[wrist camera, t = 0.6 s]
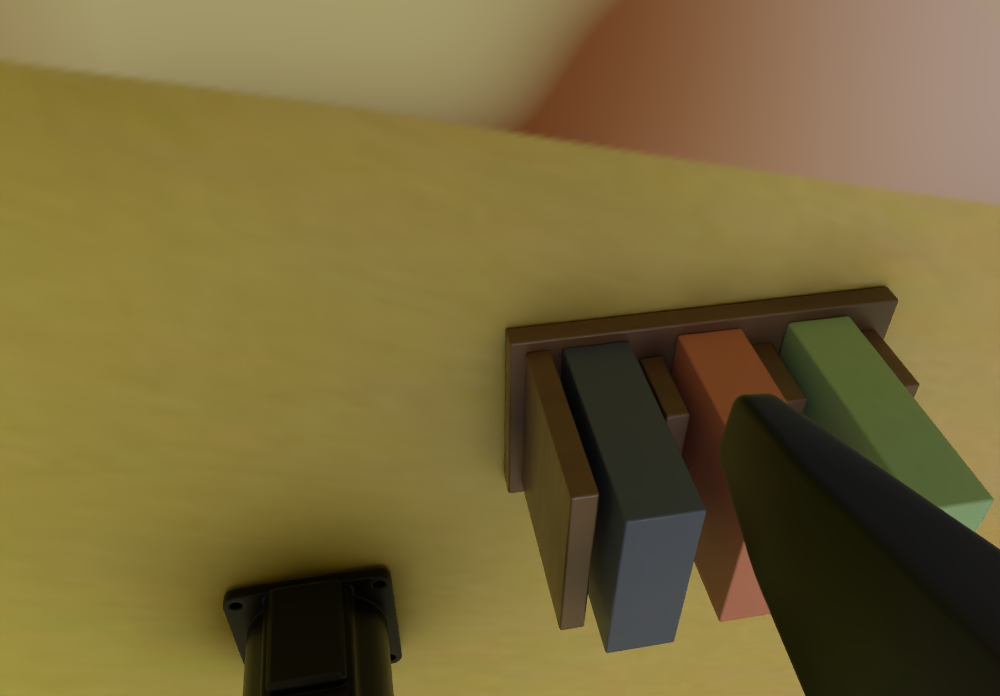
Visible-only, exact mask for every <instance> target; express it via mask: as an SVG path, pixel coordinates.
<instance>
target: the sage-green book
mask: <svg viewBox="0 0 1000 696" xmlns="http://www.w3.org/2000/svg"><path fill="white" fill-rule="evenodd" d="M779 356H780V358H781V360H782V361H783V363H784V364H785V366H786V367H787V369H788V370H789V372H790V373H791V375H792V376H793V378H794V379H795V381H796V382H797V384H798V386H799V387H800V389H801V390H802V392H803V393H804V395H805V396H806V398H807V401H806V404H805V407H804V411H803V415H805V416H806V417H808V418H809V419H811V420H812V421H813V422H815V423H816V424H818V425H819V426H821V427H822V428H824V429H825V430H827V431H828V432H829V433H831V434H832V435H834V436H835V437H837V438H838V439H840V440H841V441H843V442H844V443H846V444H847V445H848V446H850V447H851V448H853V449H854V450H856V451H857V452H859V453H860V454H862V455H863V456H864V457H866V458H867V459H869V460H870V461H872V462H873V463H875V464H876V465H878V466H879V467H881V468H882V469H883V470H885V471H886V472H888V473H889V474H891V475H892V476H894V477H895V478H897V479H898V480H899V481H901V482H902V483H904V484H905V485H907V486H908V487H910V488H911V489H913V490H914V491H916V492H917V493H918V494H920V495H921V496H923V497H924V498H926V499H927V500H929V501H930V502H932V503H933V504H934V505H936V506H937V507H939V508H940V509H942V510H943V511H945V512H946V513H948V514H949V515H950V516H952V517H953V518H955V519H956V520H958V521H959V522H961V523H962V524H964V525H965V526H967V527H968V528H969V529H971V530H972V531H974V532H976V531H977V529H978V527H979V525H980V524H981V522H982V520H983V519H984V517H985V515H986V513H987V512H988V510H989V508H990V507H991V505H992V503H993V501H994V500H993V497H992V496H991V495H990V494H989V492H988V491H987V490H986V489H985V487H984V486H983V485H982V484H981V482H980V481H979V480H978V479H977V477H976V476H975V475H974V473H973V472H972V471H971V470H970V468H969V467H968V466H967V465H966V463H965V462H964V461H963V460H962V458H961V457H960V456H959V455H958V453H957V452H956V451H955V449H954V448H953V447H952V446H951V444H950V443H949V442H948V441H947V439H946V438H945V437H944V436H943V434H942V433H941V432H940V431H939V429H938V428H937V427H936V425H935V424H934V423H933V422H932V420H931V419H930V418H929V417H928V415H927V414H926V413H925V412H924V410H923V409H922V408H921V407H920V405H919V404H918V403H917V402H916V400H915V399H914V398H913V396H912V395H911V394H910V393H909V391H908V390H907V389H906V388H905V386H904V385H903V384H902V383H901V381H900V380H899V379H898V378H897V376H896V375H895V374H894V372H893V371H892V370H891V369H890V367H889V366H888V365H887V364H886V362H885V361H884V360H883V359H882V357H881V356H880V355H879V354H878V352H877V351H876V350H875V348H874V347H873V346H872V345H871V343H870V342H869V341H868V340H867V338H866V337H865V336H864V335H863V333H862V332H861V331H860V330H859V328H858V327H857V326H856V325H855V323H854V322H853V321H852V319H851V318H850V317H849V316H843V317H835V318H826V319H818V320H809V321H800V322H792V323H789V324H788V325H787V329H786V333H785V336H784V340H783V343H782V347H781V350H780V354H779Z"/></svg>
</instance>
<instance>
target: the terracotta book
mask: <svg viewBox="0 0 1000 696" xmlns="http://www.w3.org/2000/svg"><path fill="white" fill-rule="evenodd" d="M671 376H672V378H673V380H674V382H675V384H676V386H677V388H678V390H679V392H680V394H681V396H682V398H683V401H684V403H685V405H686V407H687V409H688V411H689V413H690V417H689V422H688V427H687V432H686V437H685V442H684V447H683V452H682V458H683V460H684V463H685V465H686V467H687V469H688V471H689V474H690V476H691V478H692V480H693V482H694V484H695V487H696V489H697V491H698V493H699V495H700V498H701V500H702V502H703V504H704V506H705V508H706V514H705V518H704V522H703V526H702V530H701V534H700V538H699V542H698V546H697V550H696V554H695V558H694V562H695V565H696V567H697V569H698V572H699V574H700V576H701V579H702V581H703V584H704V586H705V588H706V591H707V593H708V596H709V598H710V600H711V603H712V605H713V607H714V610H715V612H716V615H717V617H718V619H719V621H720V622H723V621H729V620H735V619H741V618H747V617H753V616H759V615H766V614H771V613H770V611H769V608H768V606H767V604H766V601H765V599H764V597H763V594H762V592H761V589H760V587H759V584H758V582H757V579H756V577H755V574H754V571H753V568H752V565H751V562H750V559H749V556H748V553H747V550H746V546H745V543H744V539H743V536H742V533H741V529H740V526H739V523H738V519H737V516H736V512H735V509H734V506H733V502H732V499H731V496H730V492H729V489H728V485H727V482H726V479H725V475H724V472H723V469H722V465H721V461H720V455H719V447H720V441H721V438H722V435H723V432H724V429H725V425H726V422H727V419H728V416H729V413H730V410H731V407H732V404H733V402H734V400H735V399H736V398H737V397H738V396H740V395H743V394H755V393H771V394H773V395H775V396H777V397H778V398H780V399H781V400H783V401H784V402H786V403H787V401H786V400H785V398H784V396H783V395H782V393H781V392H780V390H779V388H778V387H777V385H776V384H775V382H774V380H773V379H772V377H771V376H770V374H769V372H768V371H767V369H766V368H765V366H764V364H763V363H762V361H761V360H760V358H759V356H758V355H757V353H756V352H755V350H754V348H753V347H752V345H751V344H750V342H749V341H748V339H747V337H746V336H745V334H744V333H743V331H742V329H740V328H739V329H730V330H722V331H713V332H704V333H696V334H687V335H679V336H678V338H677V344H676V349H675V355H674V360H673V366H672V372H671ZM787 404H788V403H787Z"/></svg>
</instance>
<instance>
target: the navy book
mask: <svg viewBox="0 0 1000 696" xmlns="http://www.w3.org/2000/svg"><path fill="white" fill-rule="evenodd" d="M561 384H562V387H563V390H564V393H565V395H566V398H567V401H568V404H569V407H570V410H571V413H572V416H573V419H574V422H575V425H576V427H577V430H578V433H579V436H580V439H581V442H582V445H583V448H584V451H585V454H586V457H587V459H588V462H589V465H590V468H591V471H592V474H593V477H594V480H595V483H596V486H597V489H598V491H599V502H598V510H597V519H596V527H595V536H594V544H593V553H592V561H591V570H590V578H589V587H588V595H589V598H590V602H591V605H592V608H593V612H594V615H595V618H596V622H597V625H598V628H599V632H600V635H601V639H602V642H603V645H604V649H605V651H606V653H610V652H616V651H622V650H628V649H634V648H640V647H646V646H652V645H658V644H664V643H670V642H673V641H674V639H675V635H676V631H677V627H678V623H679V619H680V615H681V611H682V607H683V603H684V599H685V595H686V591H687V587H688V582H689V578H690V574H691V570H692V566H693V562H694V558H695V554H696V550H697V546H698V542H699V538H700V534H701V530H702V526H703V522H704V518H705V514H706V508H705V506H704V504H703V502H702V500H701V498H700V495H699V493H698V491H697V489H696V487H695V484H694V482H693V480H692V478H691V476H690V474H689V471H688V469H687V467H686V465H685V463H684V460H683V458H682V456H681V454H680V452H679V449H678V447H677V445H676V443H675V441H674V439H673V436H672V434H671V432H670V430H669V428H668V425H667V423H666V421H665V419H664V417H663V415H662V412H661V410H660V408H659V406H658V404H657V401H656V399H655V397H654V395H653V393H652V391H651V388H650V386H649V384H648V382H647V380H646V377H645V375H644V373H643V371H642V369H641V367H640V364H639V362H638V360H637V358H636V356H635V353H634V351H633V349H632V347H631V345H630V342H628V341H627V342H618V343H609V344H601V345H592V346H584V347H575V348H566V349H564V350H563V361H562V377H561Z"/></svg>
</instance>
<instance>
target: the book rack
mask: <svg viewBox="0 0 1000 696" xmlns="http://www.w3.org/2000/svg"><path fill="white" fill-rule="evenodd" d="M897 303H898V299H897V298H896V296H895V295H894V294H893V293H892V292H891V291H890V290H889V289H888V288H887V287H881V288H872V289H863V290H854V291H845V292H836V293H827V294H818V295H809V296H800V297H791V298H783V299H774V300H765V301H756V302H747V303H738V304H729V305H720V306H711V307H702V308H693V309H685V310H676V311H667V312H658V313H649V314H640V315H631V316H622V317H613V318H604V319H595V320H587V321H578V322H569V323H560V324H551V325H542V326H533V327H524V328H515V329H508V330H507V331H506V417H505V480H506V484H507V488H508V492H509V493H515V492H522V491H524V493H525V497H526V501H527V505H528V509H529V512H530V516H531V520H532V524H533V528H534V532H535V536H536V540H537V543H538V547H539V551H540V555H541V559H542V563H543V567H544V571H545V574H546V578H547V582H548V586H549V590H550V594H551V598H552V602H553V606H554V609H555V613H556V617H557V621H558V625H559V628H560V630H565V629H571V628H577V627H582V626H584V621H585V612H586V604H587V595H588V587H589V578H590V570H591V561H592V553H593V544H594V536H595V527H596V519H597V510H598V502H599V491H598V489H597V486H596V483H595V480H594V477H593V474H592V471H591V468H590V465H589V462H588V459H587V457H586V454H585V451H584V448H583V445H582V442H581V439H580V436H579V433H578V430H577V427H576V425H575V422H574V419H573V416H572V413H571V410H570V407H569V404H568V401H567V398H566V395H565V393H564V390H563V387H562V384H561V377H562V361H563V350H564V349H566V348H575V347H584V346H592V345H601V344H609V343H618V342H627V341H628V342H630V345H631V347H632V349H633V351H634V353H635V356H636V358H637V360H638V362H639V364H640V367H641V369H642V371H643V373H644V375H645V377H646V380H647V382H648V384H649V386H650V388H651V391H652V393H653V395H654V397H655V399H656V401H657V404H658V406H659V408H660V410H661V412H662V415H663V417H664V419H665V421H666V423H667V425H668V428H669V430H670V432H671V434H672V436H673V439H674V441H675V443H676V445H677V447H678V449H679V452H680V454H681V456H682V452H683V447H684V442H685V437H686V432H687V427H688V422H689V417H690V413H689V411H688V409H687V407H686V405H685V403H684V401H683V398H682V396H681V394H680V392H679V390H678V388H677V386H676V384H675V382H674V380H673V378H672V376H671V372H672V366H673V360H674V355H675V349H676V344H677V338H678V336H679V335H687V334H696V333H704V332H713V331H722V330H730V329H739V328H740V329H742V331H743V333H744V334H745V336H746V337H747V339H748V341H749V342H750V344H751V345H752V347H753V348H754V350H755V352H756V353H757V355H758V356H759V358H760V360H761V361H762V363H763V364H764V366H765V368H766V369H767V371H768V372H769V374H770V376H771V377H772V379H773V380H774V382H775V384H776V385H777V387H778V388H779V390H780V392H781V393H782V395H783V396H784V398H785V400H786V401H787V403H788V404H789V405H790V406H792V407H793V408H795V409H796V410H797V411H799V412H800V413H802V414H803V411H804V407H805V404H806V401H807V398H806V396H805V395H804V393H803V392H802V390H801V389H800V387H799V386H798V384H797V382H796V381H795V379H794V378H793V376H792V375H791V373H790V372H789V370H788V369H787V367H786V366H785V364H784V363H783V361H782V360H781V358H780V356H779V354H780V350H781V347H782V343H783V340H784V336H785V333H786V329H787V325H788V324H789V323H792V322H800V321H809V320H818V319H826V318H835V317H843V316H849V317H850V318H851V319H852V321H853V322H854V323H855V325H856V326H857V327H858V328H859V330H860V331H861V332H862V333H863V335H864V336H865V337H866V338H867V340H868V341H869V342H870V343H871V345H872V346H873V347H874V348H875V350H876V351H877V352H878V354H879V355H880V356H881V357H882V359H883V360H884V361H885V362H886V364H887V365H888V366H889V367H890V369H891V370H892V371H893V372H894V374H895V375H896V376H897V378H898V379H899V380H900V381H901V383H902V384H903V385H904V386H905V388H906V389H907V390H908V391H909V393H910V394H911V395H912V396H913V398H914V396H915V394H916V391H917V389H918V387H919V383H918V382H917V381H916V379H915V378H914V377H913V376H912V374H911V373H910V372H909V371H908V369H907V368H906V367H905V366H904V365H903V363H902V362H901V361H900V360H899V358H898V357H897V356H896V355H895V354H894V352H893V351H892V350H891V349H890V347H889V346H888V345H887V344H886V342H885V341H884V340H883V339H884V337H885V334H886V332H887V329H888V326H889V324H890V321H891V318H892V316H893V313H894V311H895V308H896V305H897Z"/></svg>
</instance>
